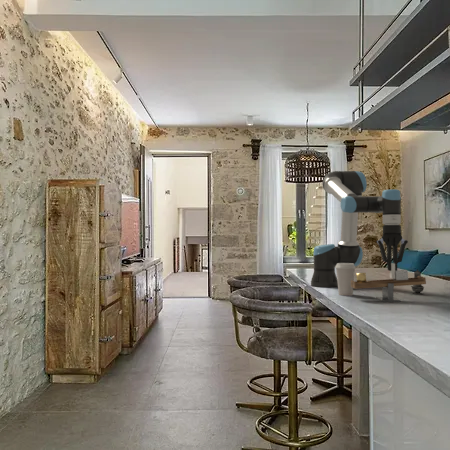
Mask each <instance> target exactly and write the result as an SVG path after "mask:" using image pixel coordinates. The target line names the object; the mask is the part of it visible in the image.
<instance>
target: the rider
mask: <svg viewBox="0 0 450 450" xmlns="http://www.w3.org/2000/svg"><path fill="white" fill-rule="evenodd" d="M408 273H409V271H408V270H407V269H397V271H395V279H393V281H399V280H408V278H409V274H408Z"/></svg>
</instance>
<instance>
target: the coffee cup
mask: <svg viewBox="0 0 450 450" xmlns="http://www.w3.org/2000/svg"><path fill="white" fill-rule="evenodd" d="M355 269H357V266H354V264H353V263H337V265H336V266H335V273H336V277H337V281H338V286H337V290H338V296H346V297H347V296H353V295H354V288H353V287H351V280H353V281H355V273H356V272H355Z"/></svg>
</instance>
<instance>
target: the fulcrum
mask: <svg viewBox="0 0 450 450" xmlns="http://www.w3.org/2000/svg"><path fill="white" fill-rule="evenodd" d="M394 289H395V286H394V283H388V287H381V290H382V291H381V292H382V294H381V296H375V299H376V300H377V301H379V302H380V303H401V299H399V298H397V297H395V296H394Z"/></svg>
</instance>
